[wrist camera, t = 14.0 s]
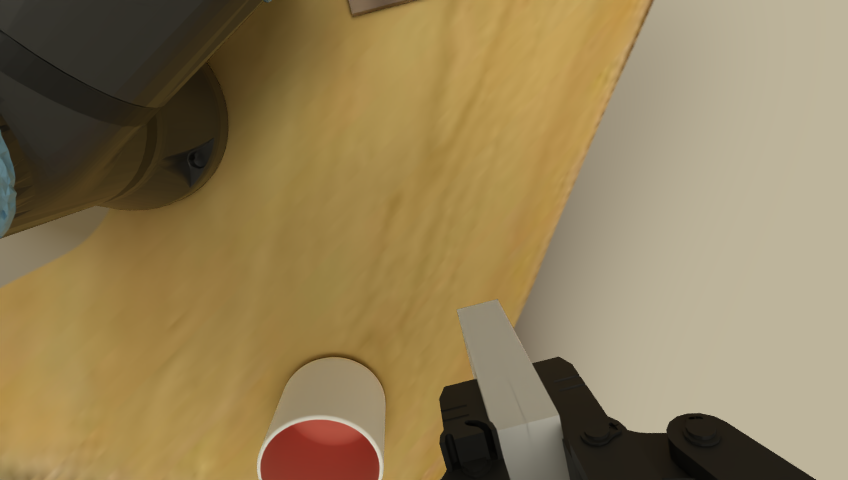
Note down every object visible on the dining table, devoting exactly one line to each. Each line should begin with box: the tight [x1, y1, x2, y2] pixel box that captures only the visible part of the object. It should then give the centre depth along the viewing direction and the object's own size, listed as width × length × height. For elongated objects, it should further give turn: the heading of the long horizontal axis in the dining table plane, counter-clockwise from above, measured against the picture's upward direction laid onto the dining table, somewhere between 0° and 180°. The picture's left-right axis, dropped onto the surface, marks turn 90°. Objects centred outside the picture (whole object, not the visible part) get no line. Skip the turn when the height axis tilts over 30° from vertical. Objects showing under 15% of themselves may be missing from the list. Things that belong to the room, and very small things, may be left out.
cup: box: [257, 357, 386, 480], centre depth 43 cm, size 10×10×10 cm
